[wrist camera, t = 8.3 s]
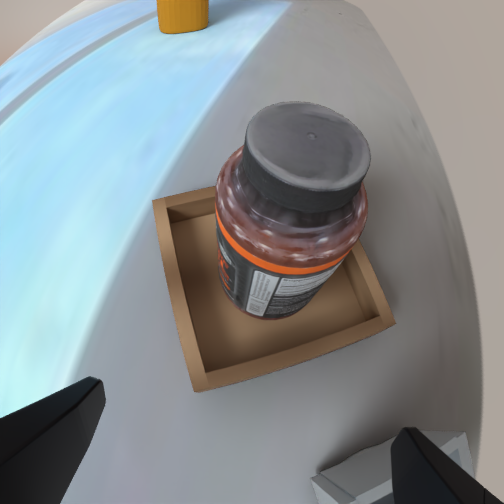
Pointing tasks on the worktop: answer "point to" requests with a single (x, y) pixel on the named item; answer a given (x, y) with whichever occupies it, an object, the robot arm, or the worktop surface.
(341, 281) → the tray
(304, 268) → the supplement bottle
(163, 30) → the flashlight
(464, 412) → the worktop surface
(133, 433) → the worktop surface
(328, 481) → the grey open square bin
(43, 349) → the worktop surface
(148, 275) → the worktop surface
